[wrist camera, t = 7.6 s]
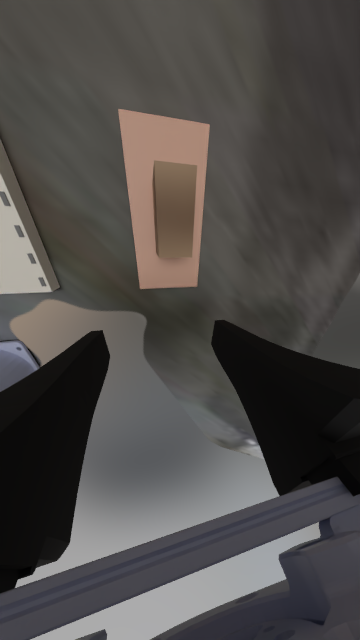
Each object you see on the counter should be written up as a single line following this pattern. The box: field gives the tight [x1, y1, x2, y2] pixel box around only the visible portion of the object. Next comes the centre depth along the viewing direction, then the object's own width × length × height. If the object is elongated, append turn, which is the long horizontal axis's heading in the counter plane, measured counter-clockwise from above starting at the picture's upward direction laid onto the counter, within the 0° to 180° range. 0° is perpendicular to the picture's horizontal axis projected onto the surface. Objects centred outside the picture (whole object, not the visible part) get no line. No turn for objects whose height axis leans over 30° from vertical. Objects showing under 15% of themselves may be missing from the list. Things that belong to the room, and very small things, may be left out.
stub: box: [118, 109, 210, 289], centre depth 12 cm, size 12×6×6 cm, turn 179°
